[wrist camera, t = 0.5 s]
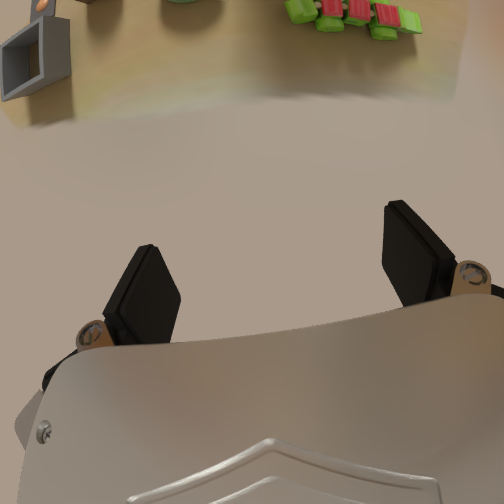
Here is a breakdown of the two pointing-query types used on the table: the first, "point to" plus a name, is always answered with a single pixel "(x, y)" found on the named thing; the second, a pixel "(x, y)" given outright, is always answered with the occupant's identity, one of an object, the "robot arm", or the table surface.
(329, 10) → the toy crocodile
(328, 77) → the table surface
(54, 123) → the table surface
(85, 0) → the brown open box
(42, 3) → the card
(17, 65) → the grey hollow box
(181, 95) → the table surface
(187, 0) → the ramekin
